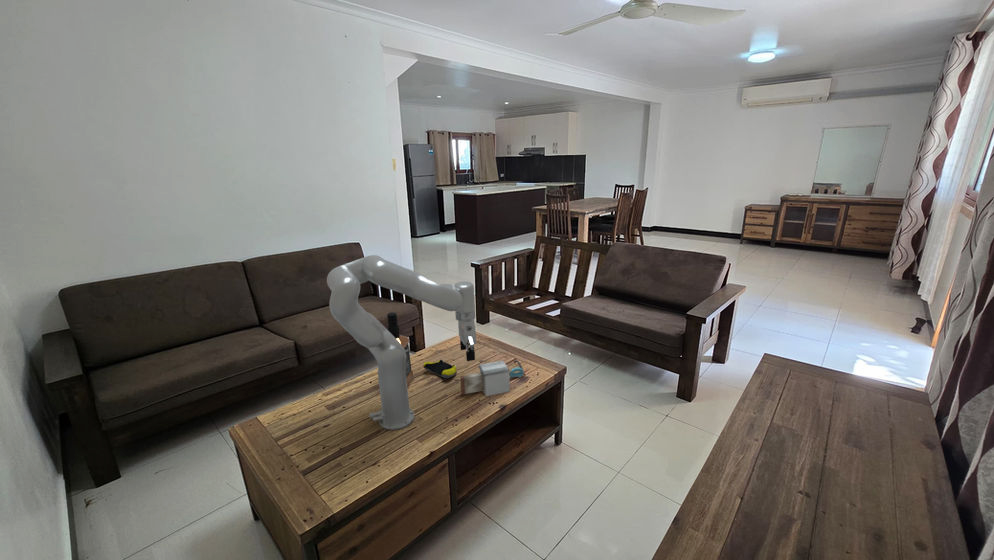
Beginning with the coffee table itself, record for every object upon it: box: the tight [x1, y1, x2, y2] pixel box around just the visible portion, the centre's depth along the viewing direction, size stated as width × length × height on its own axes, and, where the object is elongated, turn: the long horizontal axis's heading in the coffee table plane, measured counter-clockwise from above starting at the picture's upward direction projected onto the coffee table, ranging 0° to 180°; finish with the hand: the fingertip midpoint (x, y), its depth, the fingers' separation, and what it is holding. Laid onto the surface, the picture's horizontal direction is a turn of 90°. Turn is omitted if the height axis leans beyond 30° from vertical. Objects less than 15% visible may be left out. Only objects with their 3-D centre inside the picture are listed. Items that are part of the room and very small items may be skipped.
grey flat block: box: [459, 372, 484, 395], centre depth 162 cm, size 18×2×7 cm, turn 108°
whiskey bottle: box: [386, 311, 415, 389], centre depth 165 cm, size 10×10×32 cm
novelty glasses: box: [509, 360, 525, 379], centre depth 177 cm, size 14×15×5 cm
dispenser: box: [478, 360, 511, 397], centre depth 163 cm, size 10×8×10 cm
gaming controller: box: [422, 359, 457, 379], centre depth 176 cm, size 15×6×10 cm
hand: (467, 354), depth 156 cm, fingers open, 9 cm apart
